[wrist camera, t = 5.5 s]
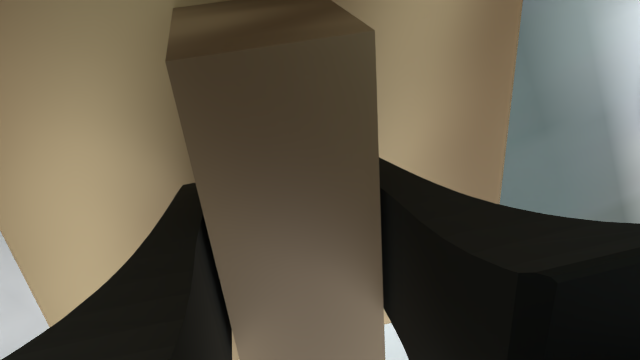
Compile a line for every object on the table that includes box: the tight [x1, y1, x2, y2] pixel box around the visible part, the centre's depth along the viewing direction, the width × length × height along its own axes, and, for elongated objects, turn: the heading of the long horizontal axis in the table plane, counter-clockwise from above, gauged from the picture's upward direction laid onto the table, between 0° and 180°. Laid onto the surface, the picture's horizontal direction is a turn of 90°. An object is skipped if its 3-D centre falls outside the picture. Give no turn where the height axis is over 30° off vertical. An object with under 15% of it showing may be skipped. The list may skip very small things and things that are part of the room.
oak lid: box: [0, 0, 523, 360], centre depth 11 cm, size 13×13×5 cm
